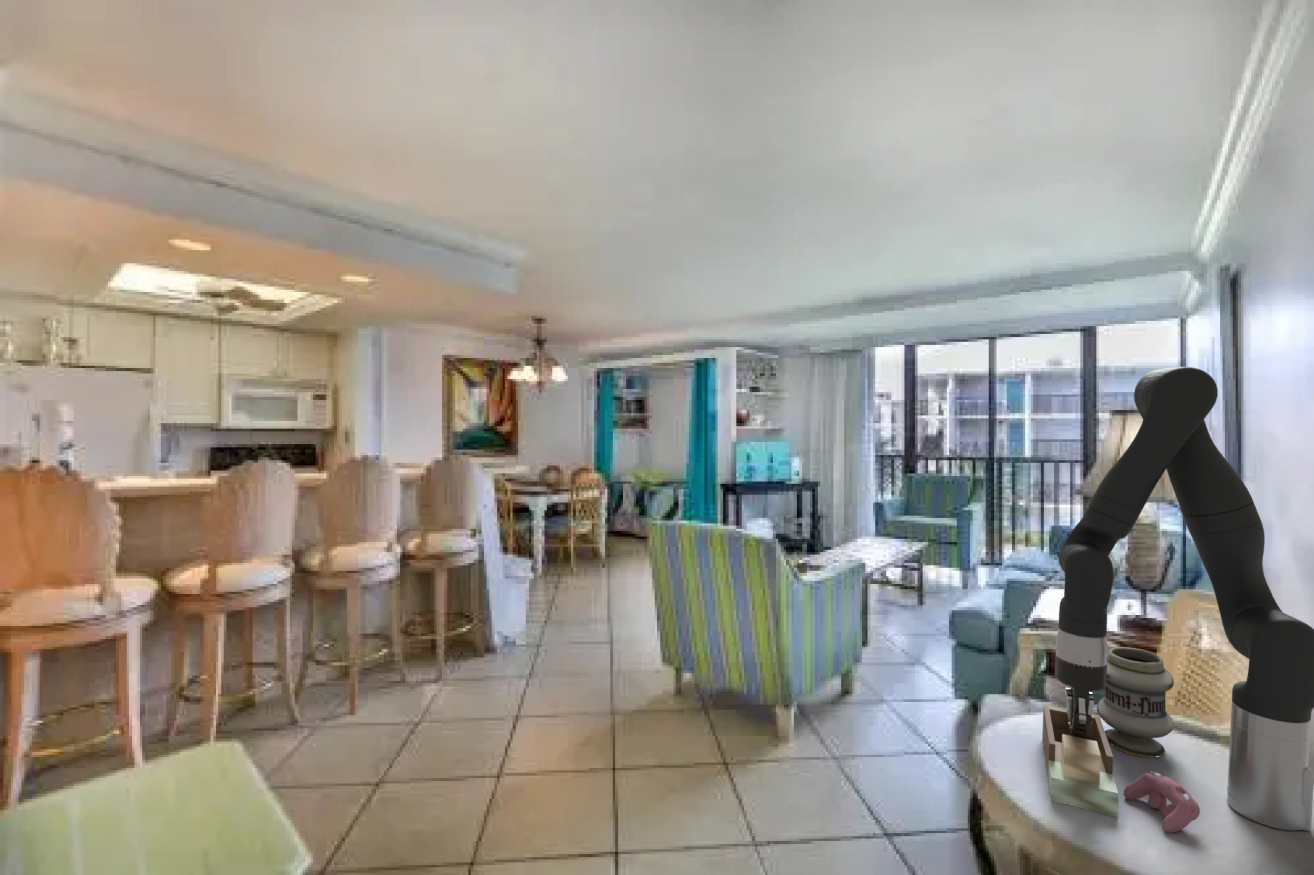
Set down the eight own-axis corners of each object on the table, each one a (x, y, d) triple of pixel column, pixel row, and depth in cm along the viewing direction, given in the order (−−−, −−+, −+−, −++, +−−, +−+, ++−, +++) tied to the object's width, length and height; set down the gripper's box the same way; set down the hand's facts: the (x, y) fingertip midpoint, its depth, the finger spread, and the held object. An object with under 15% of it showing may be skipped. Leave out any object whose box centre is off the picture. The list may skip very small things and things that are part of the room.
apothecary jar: (1080, 731, 130) (1084, 644, 129) (1130, 726, 132) (1134, 641, 131) (1135, 764, 118) (1139, 668, 117) (1189, 757, 120) (1193, 664, 119)
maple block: (1095, 769, 109) (1096, 741, 108) (1099, 785, 104) (1100, 755, 104) (1061, 761, 111) (1062, 734, 111) (1063, 776, 107) (1064, 747, 106)
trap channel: (1098, 751, 122) (1099, 715, 122) (1117, 817, 102) (1119, 775, 102) (1042, 739, 126) (1043, 704, 126) (1050, 800, 107) (1051, 760, 106)
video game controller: (1189, 845, 98) (1212, 806, 98) (1163, 832, 98) (1186, 792, 98) (1141, 805, 108) (1162, 769, 108) (1118, 793, 108) (1138, 757, 108)
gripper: (1112, 674, 104) (1108, 777, 105) (1102, 647, 115) (1098, 740, 116) (1058, 665, 107) (1054, 764, 108) (1053, 640, 119) (1050, 730, 120)
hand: (1077, 752), depth 112 cm, fingers closed
